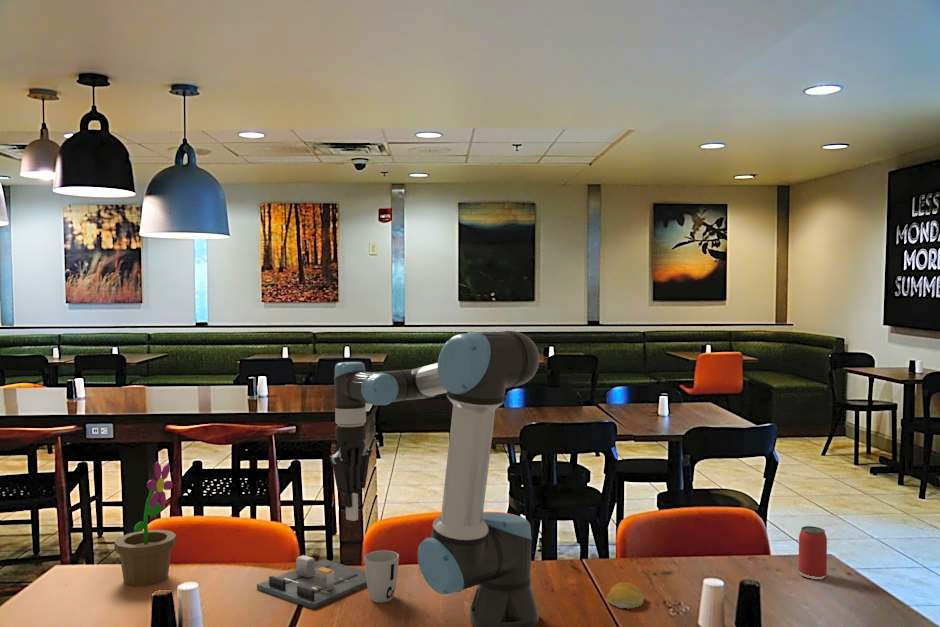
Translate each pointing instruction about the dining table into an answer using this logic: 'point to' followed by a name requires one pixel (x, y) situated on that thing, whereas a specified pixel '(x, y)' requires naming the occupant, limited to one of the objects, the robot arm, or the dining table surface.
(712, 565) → the dining table surface
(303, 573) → the far fader
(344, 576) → the console
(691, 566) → the dining table surface
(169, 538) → the flowerpot
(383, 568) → the cup
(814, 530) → the beer can
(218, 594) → the dining table surface
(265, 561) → the dining table surface
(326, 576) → the near fader
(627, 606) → the bread roll
